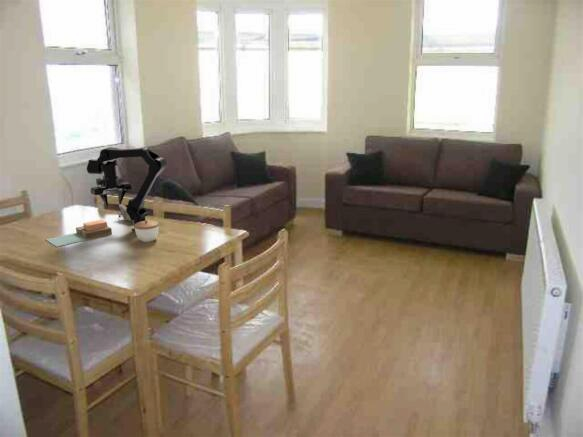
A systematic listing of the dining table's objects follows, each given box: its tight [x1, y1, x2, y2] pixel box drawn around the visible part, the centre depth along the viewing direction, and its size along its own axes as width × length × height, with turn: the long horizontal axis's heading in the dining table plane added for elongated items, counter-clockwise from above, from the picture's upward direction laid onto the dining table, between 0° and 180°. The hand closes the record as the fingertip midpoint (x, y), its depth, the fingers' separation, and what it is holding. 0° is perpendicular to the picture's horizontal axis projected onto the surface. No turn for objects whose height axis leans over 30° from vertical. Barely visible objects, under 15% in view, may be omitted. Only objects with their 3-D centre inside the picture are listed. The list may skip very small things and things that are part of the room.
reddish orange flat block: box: [83, 219, 108, 231], centre depth 260 cm, size 6×9×2 cm, turn 132°
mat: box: [45, 232, 88, 248], centre depth 252 cm, size 14×14×1 cm
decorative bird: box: [118, 204, 134, 223], centre depth 281 cm, size 5×16×7 cm, turn 43°
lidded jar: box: [133, 219, 159, 243], centre depth 250 cm, size 11×11×9 cm
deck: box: [75, 225, 113, 241], centre depth 260 cm, size 13×12×3 cm
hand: (113, 205), depth 265 cm, fingers open, 6 cm apart
